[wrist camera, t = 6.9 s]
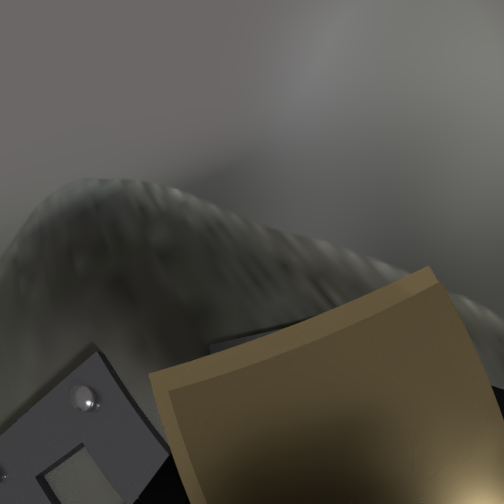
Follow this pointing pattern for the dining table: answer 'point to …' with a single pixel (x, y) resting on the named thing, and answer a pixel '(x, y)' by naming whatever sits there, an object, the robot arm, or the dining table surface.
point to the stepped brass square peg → (341, 409)
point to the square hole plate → (81, 437)
